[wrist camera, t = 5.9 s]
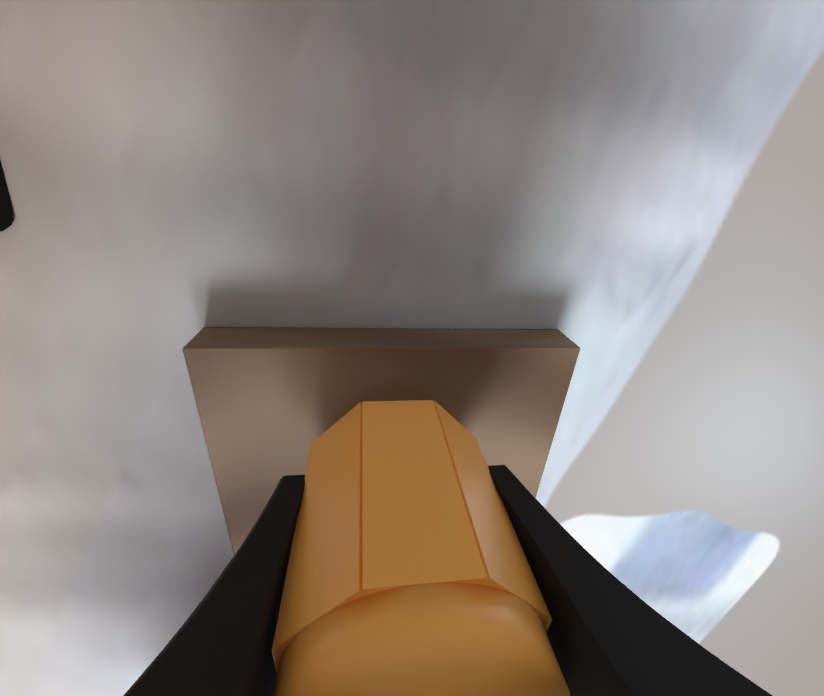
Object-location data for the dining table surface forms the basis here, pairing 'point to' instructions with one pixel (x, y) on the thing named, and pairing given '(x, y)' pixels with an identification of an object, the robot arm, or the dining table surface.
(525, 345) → the board
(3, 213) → the electric trimmer
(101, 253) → the dining table surface
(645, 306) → the dining table surface
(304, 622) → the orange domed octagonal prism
